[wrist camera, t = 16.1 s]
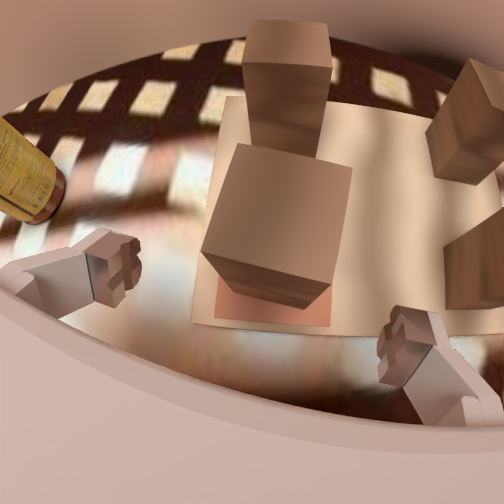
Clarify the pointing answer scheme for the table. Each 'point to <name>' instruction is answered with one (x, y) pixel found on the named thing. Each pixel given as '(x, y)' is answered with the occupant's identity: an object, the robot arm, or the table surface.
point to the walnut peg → (278, 225)
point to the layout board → (372, 193)
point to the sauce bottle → (27, 178)
